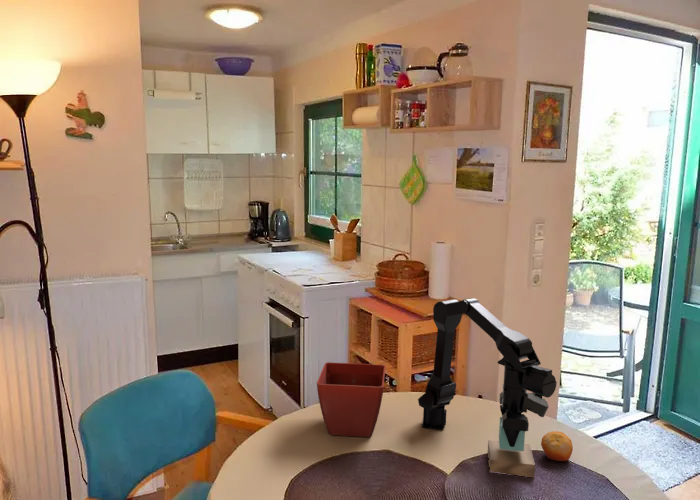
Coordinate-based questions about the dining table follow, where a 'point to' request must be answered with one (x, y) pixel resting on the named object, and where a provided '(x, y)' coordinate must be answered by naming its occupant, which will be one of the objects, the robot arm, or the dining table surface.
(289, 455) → the dining table surface
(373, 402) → the plant pot
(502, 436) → the teal cube
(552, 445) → the fruit
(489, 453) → the light tan wooden block
